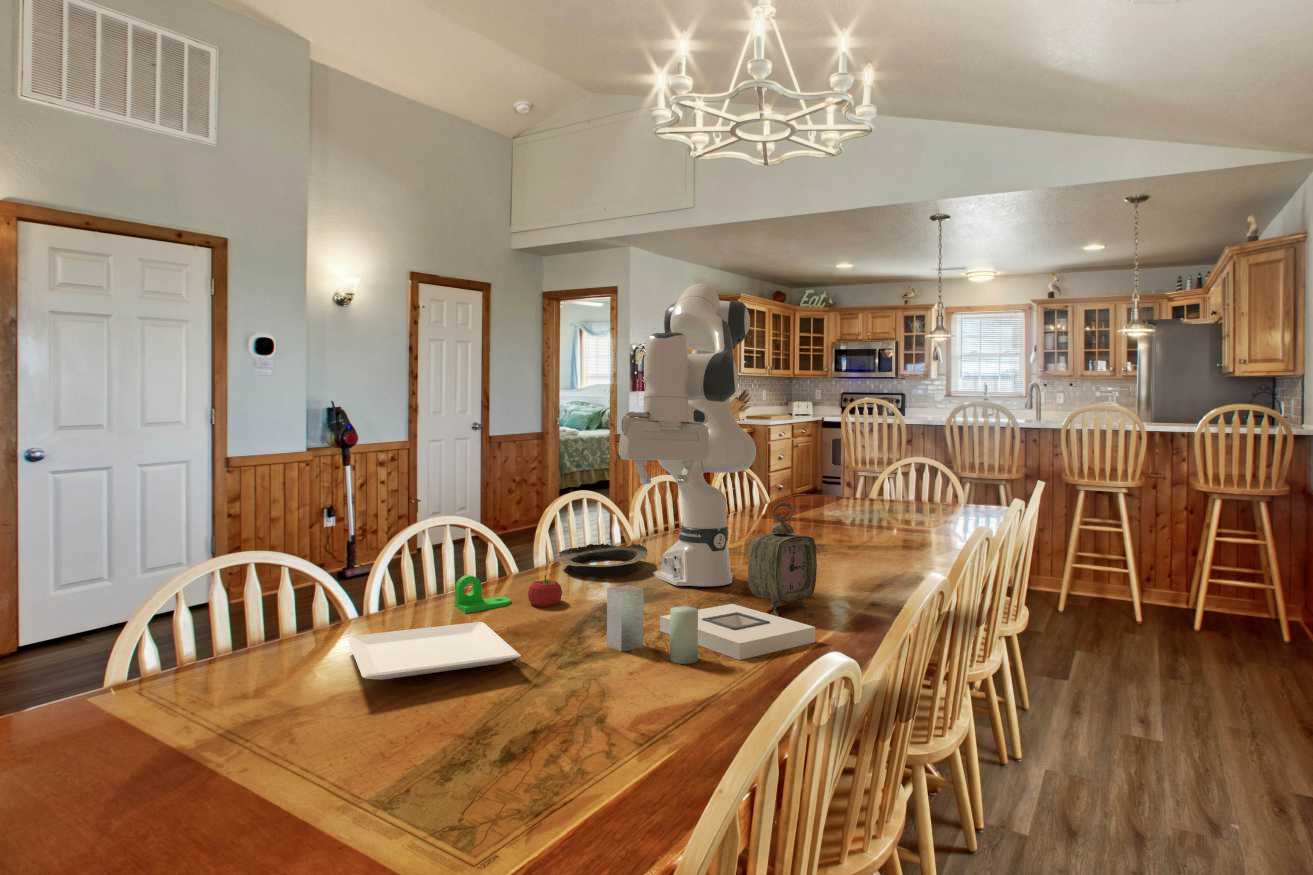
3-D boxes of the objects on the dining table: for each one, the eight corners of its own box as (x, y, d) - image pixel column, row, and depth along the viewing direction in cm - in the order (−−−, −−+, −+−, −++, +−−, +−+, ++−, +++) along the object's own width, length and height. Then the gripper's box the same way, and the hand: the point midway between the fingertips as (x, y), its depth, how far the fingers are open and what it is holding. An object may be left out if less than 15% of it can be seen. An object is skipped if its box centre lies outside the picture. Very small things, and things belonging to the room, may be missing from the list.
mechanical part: (465, 616, 166) (465, 580, 166) (455, 611, 171) (455, 576, 171) (515, 609, 173) (515, 574, 173) (504, 604, 178) (504, 570, 178)
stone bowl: (608, 570, 223) (608, 538, 223) (668, 582, 205) (668, 548, 205) (539, 581, 205) (539, 547, 205) (598, 595, 187) (599, 558, 187)
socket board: (659, 630, 154) (659, 614, 154) (732, 617, 166) (732, 602, 166) (739, 659, 135) (739, 641, 135) (815, 642, 147) (815, 625, 147)
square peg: (606, 645, 144) (607, 587, 144) (628, 641, 147) (628, 584, 147) (621, 651, 140) (621, 592, 140) (643, 647, 143) (643, 589, 143)
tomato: (565, 604, 177) (565, 572, 177) (558, 612, 169) (558, 578, 169) (532, 603, 178) (532, 571, 178) (523, 611, 170) (523, 577, 170)
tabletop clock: (775, 621, 163) (776, 506, 163) (744, 613, 170) (745, 503, 169) (816, 611, 172) (817, 502, 172) (785, 604, 179) (786, 499, 179)
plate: (362, 688, 120) (362, 675, 120) (346, 646, 143) (346, 635, 143) (521, 666, 132) (521, 654, 132) (483, 630, 155) (483, 620, 155)
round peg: (664, 658, 136) (664, 608, 136) (685, 653, 139) (686, 605, 139) (681, 665, 132) (681, 614, 132) (703, 660, 135) (703, 610, 135)
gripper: (631, 410, 139) (630, 485, 139) (714, 415, 151) (713, 483, 151) (612, 411, 144) (611, 483, 144) (694, 416, 156) (693, 482, 156)
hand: (664, 483), depth 147 cm, fingers open, 8 cm apart
